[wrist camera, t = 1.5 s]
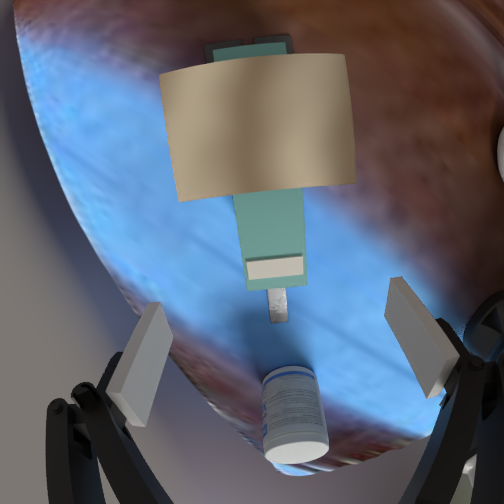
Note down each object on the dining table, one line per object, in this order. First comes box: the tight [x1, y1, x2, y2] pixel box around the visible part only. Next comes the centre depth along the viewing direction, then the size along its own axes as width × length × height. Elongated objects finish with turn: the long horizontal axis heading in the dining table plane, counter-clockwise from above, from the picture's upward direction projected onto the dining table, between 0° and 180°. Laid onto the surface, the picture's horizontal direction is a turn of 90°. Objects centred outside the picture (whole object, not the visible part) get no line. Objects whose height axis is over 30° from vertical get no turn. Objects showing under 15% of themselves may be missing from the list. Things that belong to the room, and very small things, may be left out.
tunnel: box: [159, 54, 356, 202], centre depth 21 cm, size 11×8×15 cm
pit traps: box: [204, 35, 293, 64], centre depth 24 cm, size 9×4×1 cm, turn 97°
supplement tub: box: [262, 366, 329, 464], centre depth 38 cm, size 10×10×15 cm
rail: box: [267, 288, 288, 323], centre depth 32 cm, size 2×32×1 cm, turn 7°
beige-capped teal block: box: [213, 42, 307, 291], centre depth 24 cm, size 5×19×11 cm, turn 7°
